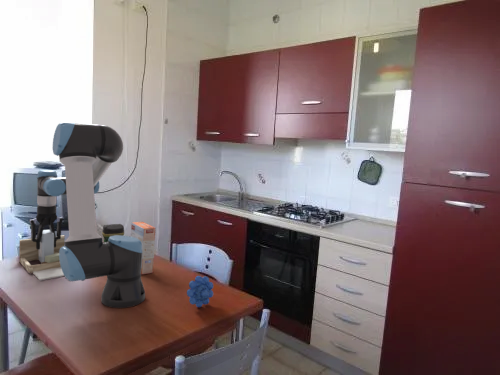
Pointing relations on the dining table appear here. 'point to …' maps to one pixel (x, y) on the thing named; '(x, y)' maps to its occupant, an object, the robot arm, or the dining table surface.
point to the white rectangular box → (47, 244)
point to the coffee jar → (112, 231)
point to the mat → (49, 273)
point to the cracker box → (145, 244)
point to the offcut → (52, 258)
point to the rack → (37, 255)
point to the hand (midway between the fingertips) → (46, 255)
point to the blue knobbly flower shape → (200, 291)
